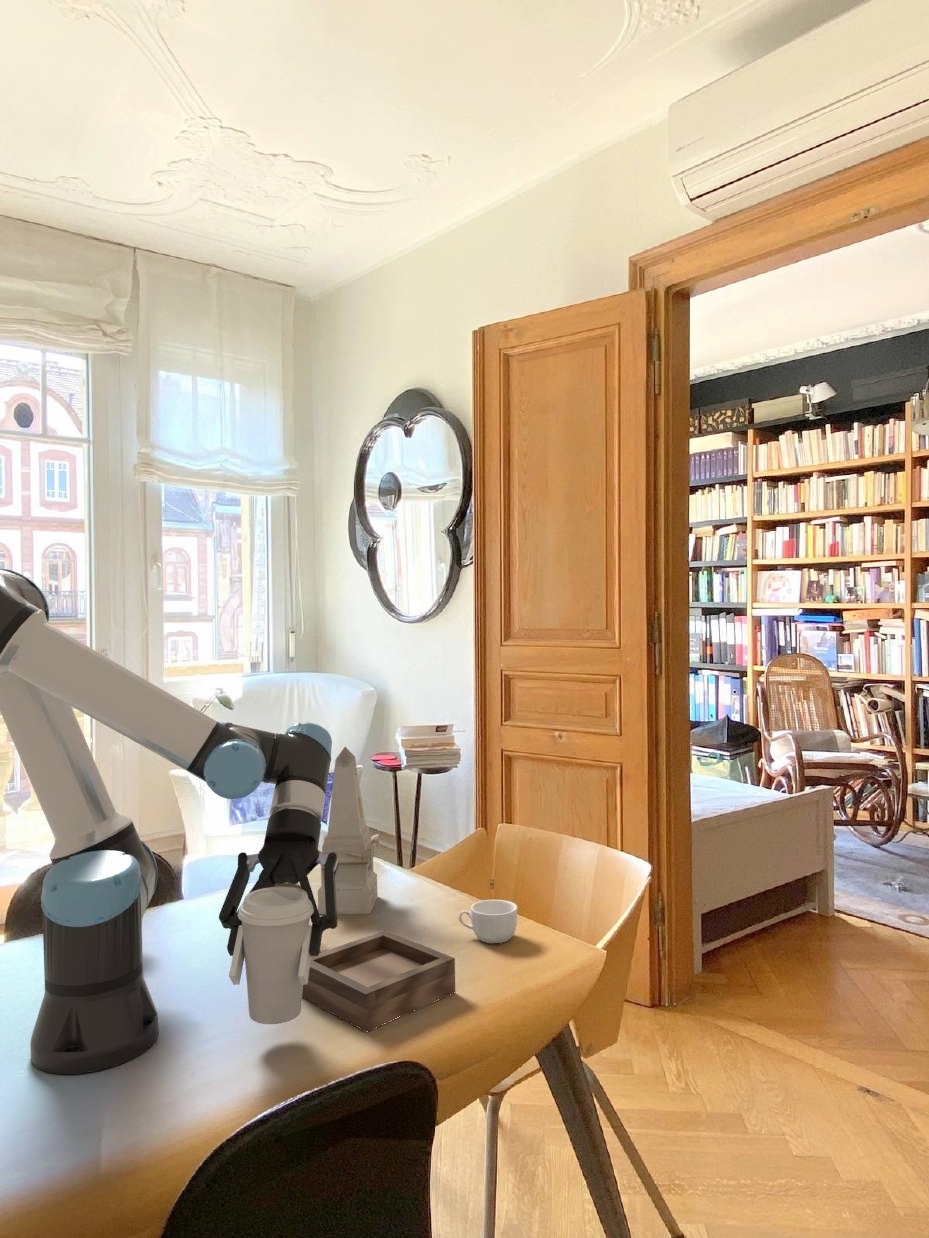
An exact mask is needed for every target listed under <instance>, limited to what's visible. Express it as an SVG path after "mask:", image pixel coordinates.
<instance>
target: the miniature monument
mask: <svg viewBox="0 0 929 1238" xmlns="http://www.w3.org/2000/svg"><path fill="white" fill-rule="evenodd" d="M334 761H335V762H334V769H333V780H332V788H331V789H332V790H331V799H330V808H329V816H328V817H329V818H328V827H327V833H326V834H324V836H323V837H324V838H323V844H319V845H318V851H319V854H324V855H328V854H329V853H331V852H334V853H335V854H336V856H337V860H338V864H339V865H338V869H337V872H336V875H335V887H336V905H337V915H370V914H371V912H372V910H373V909H374V906H375V903H376V901H377V899H378V874H377V873H376V872H375V871H374V857H375V856H376V853H377V852H378V850H379V848H380V834H379V833H376V834H373V835H372V834H371V833H370V828H369V827H368V826H366V825H367V824H366V820H365V813H364V806H363V800H362V794H361V787H360V781H359V774H358V768H357V767H358V766H357V762H356V756H355V755H354V754H353V753H352V752H351V751H350V749H348V747H347V746H344V747H343V749H342V750H341V751H340V753H339V754H338V755H337V757H336V759H335V760H334ZM317 865H320V864H319V863H318V864H317ZM320 878H321V879H320V880H321V885H320V887H319V888H318V890H317V909H318V912H319V915H326V905H325V884H324V871H322V869H321V868H320Z"/></svg>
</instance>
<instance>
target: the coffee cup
mask: <svg viewBox="0 0 929 1238" xmlns="http://www.w3.org/2000/svg"><path fill="white" fill-rule="evenodd" d="M248 893H249V892H248ZM248 893H247V894H246V895H245V897H244V900H243V902H242V903H241V904H240V905H239V908H240V909H239V908H238V909H239V912H238V918H239V919H240V920H241V921H242V929H243V941H244V953H245V958H244V962H245V963H244V965H245V977H246V986H247V987H246V988H247V1001H248V1014H249V1018H250V1020H252V1021H253V1022H255V1023H258V1024H261V1025H279V1024H285V1023H288V1022H290V1021H292V1020H294V1019H296V1018H297V1017H298V1016H300V1014H301V1012H302V1006H303V1005H302V1003H303V997H302V994H303V985H301V982H300V980H299V977H298V973H299V966H300V959H301V952H302V945H303V942H304V940H305V937H306V935H307V931H308V927H309V925H310V921H311V918H310V916H311V915H312V914H313V912H314V909H313V905H312V902H311V901H310V900H309V899H308V895H307V893H306V892H305V891H304V890H302V889H299V888H294V887H268V888H263V889H259V890H255V891H253V892H251V893H249V894H248Z"/></svg>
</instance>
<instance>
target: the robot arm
mask: <svg viewBox="0 0 929 1238" xmlns="http://www.w3.org/2000/svg"><path fill="white" fill-rule="evenodd" d="M49 620H50V609H49V604H48V601H47V598H46V596H45V594H44V593H43V591H42V590H41V588H40V587H39V586H38V585H37V584H36V583H35V582H33V581H32V580H31V579H30V578H28V577H27V576H25V575H24V574H21V573H20V572H17V571H14V570H11V569H7V568H0V714H1V716H2V719H3V721H4V723H5V726H6V728H7V730H8V733H9V735H10V738H11V740H12V742H13V745H14V747H15V749H16V751H17V754H18V756H19V758H20V760H21V763H22V765H23V768H24V770H25V772H26V774H27V777H28V780H29V781H30V784H31V786H32V788H33V791H34V794H35V795H36V798H37V800H38V802H39V805H40V807H41V810H42V812H43V814H44V816H45V820H46V821H47V823H48V826H49V828H50V830H51V833H52V835H53V838H54V844H53V846H52V848H51V850H50V852H49V854H48V855H49V856H48V857H49V859H50V861H51V863H52V867H51V868H50V869H49V870H48V871H47V872H46V874H45V876H44V878H43V881H42V889H41V890H42V891H41V895H40V904H41V905H40V908H41V909H42V937H43V939H42V940H43V941H42V943H43V972H44V973H43V975H44V994H43V998H42V1001H41V1005H40V1007H39V1011H38V1015H37V1018H36V1021H35V1025H34V1027H33V1030H32V1034H31V1037H30V1061H31V1063H32V1065H33V1066H34V1067H35V1068H37V1069H39V1070H40V1071H43V1072H45V1073H46V1072H47V1073H49V1074H50V1073H52V1074H57V1075H59V1074H60V1075H77V1074H79V1075H80V1074H86V1073H87V1074H88V1073H93V1072H97V1071H98V1072H99V1071H101V1070H102V1071H103V1070H105V1069H109V1068H112V1067H115V1066H119V1065H121V1064H124V1063H126V1062H128V1061H130V1060H133V1059H134V1058H136V1057H138V1056H139V1055H141V1054H143V1053H144V1052H145V1051H147V1050H148V1049H149V1048H150V1047H152V1046H153V1044H154V1043H155V1042H156V1040H157V1038H158V1037H159V1015H158V1011H157V1008H156V1006H155V1003H154V1001H153V998H152V996H151V993H150V991H149V989H148V985H147V983H146V980H145V978H144V974H143V973H144V971H143V970H144V965H143V959H144V958H143V928H142V927H143V918H144V915H145V913H146V910H147V908H148V905H149V904H150V902H151V900H152V899H153V895H154V894H155V892H156V888H157V886H158V885H157V883H158V876H159V875H158V871H159V870H158V864H157V861H156V858H155V855H154V853H153V851H152V850H151V848H150V847H149V845H148V844H146V843H145V842H144V841H143V840H142V839H141V838H140V836H139V834H138V832H137V829H136V827H135V825H134V821H133V819H132V818H131V817H128V816H126V815H122V814H121V813H118V812H117V811H116V808H115V806H114V804H113V802H112V799H111V796H110V795H109V792H108V790H107V787H106V785H105V782H104V780H103V778H102V776H101V773H100V771H99V769H98V765H97V764H96V761H95V760H94V756H93V755H92V752H91V750H90V748H89V745H88V743H87V741H86V738H85V735H84V734H83V731H82V729H81V726H80V723H79V721H78V719H77V716H76V714H75V712H74V709H75V710H78V711H79V712H81V713H83V714H84V715H87V716H89V717H90V718H92V719H93V720H95V721H97V722H99V723H100V724H103V725H104V726H106V727H108V728H109V729H112V730H114V731H115V732H117V733H118V734H121V735H122V736H124V737H126V738H127V739H129V740H131V741H133V742H134V743H137V744H138V745H141V746H142V747H143V748H145V749H147V750H150V751H151V752H153V753H154V754H156V755H158V756H160V757H161V758H164V759H165V760H166V761H169V762H171V763H173V764H174V765H176V766H177V767H180V768H182V770H185V771H186V772H188V773H190V774H191V775H192V776H195V777H196V778H199V779H200V780H202V782H205V783H206V786H208V787H209V789H211V791H212V792H213V793H214V794H216V795H217V796H218V797H221V798H223V799H227V800H237V799H238V800H239V799H242V798H245V797H248V796H249V795H251V794H252V793H253V792H255V791H256V789H257V788H258V787H259V786H260V784H261V782H262V783H263V784H272V785H274V790H273V794H272V800H271V805H270V809H269V817H268V820H267V825H266V831H265V836H264V841H263V845H262V848H260V850H259V851H258V853H255V854H247V852H244V851H243V852H240V853H239V854H238V855H237V869H236V871H235V874H234V876H233V879H232V881H231V884H230V887H229V889H228V891H227V894H226V896H225V899H224V900H223V901H224V902H223V905H222V907H221V909H220V912H219V914H218V919H219V921H220V923H221V926H222V927H223V929H225V930H226V929H229V930H230V932H229V936H228V941H227V946H226V949H227V953H228V954H229V957H232V958H231V963H230V970H229V974H228V977H229V979H230V982H231V983H232V985H234V986H235V985H236V986H237V985H240V983H241V977H242V973H243V966H244V964H245V963H244V962H245V953H244V941H243V929H242V921H241V920H240V919H239V918H238V912H239V909H240V905H241V901H242V898H243V896H244V893H245V891H246V887H247V886H248V883H249V880H250V876H251V873H253V872H254V870H255V868H256V866H257V865H258V864H260V865H261V867H262V870H261V871H260V873H259V876H258V879H257V880H256V882H255V884H254V885H253V886H252V887H251V889H252V890H251V889H250V890H251V891H250V890H249V891H250V893H251V892H253V891H255V890H259V889H263V888H268V887H274V885H275V884H282V883H286V882H287V883H291V884H300V886H301V889H302V890H304V891H305V892H306V893H307V895H308V899H309V900H310V901H311V902H312V905H313V909H314V912H313V914H312V915H311V916H310V921H311V925H310V924H309V927H308V931H307V935H306V937H305V940H304V942H303V945H302V952H301V959H300V966H299V973H298V977H299V980H300V982H301V985H307V983H308V976H309V969H310V961H311V956H318V955H319V953H321V947H322V946H321V945H322V938H323V933H324V932H325V931H327V930H329V929H331V930H332V929H333V930H334V929H336V928H338V914H337V905H336V887H335V875H336V872H337V869H338V865H339V864H338V860H337V856H336V854H335V853H334V852H331V853H329V854H328V855H324V854H319V851H318V848H319V846H320V835H321V831H322V830H321V829H322V821H323V815H324V808H325V803H326V801H325V800H326V794H327V787H328V781H329V774H330V769H331V763H332V747H333V741H332V736H331V734H330V733H329V731H328V730H327V729H326V728H324V727H323V726H322V725H319V724H317V723H313V722H305V723H300V722H298V723H297V722H296V723H295V724H292V725H291V726H289V727H288V728H287V729H286V732H285V733H277V732H272V731H270V732H269V731H267V730H266V731H265V730H262V729H257V728H253V727H247V726H243V725H239V724H235V723H233V722H229V721H227V722H222V721H217V720H216V719H213V718H212V717H210V716H208V715H207V714H206V713H204V712H202V711H200V710H198V708H197V709H196V708H195V707H193V706H191V705H190V704H188V703H186V702H185V701H183V700H180V699H179V698H177V697H176V696H174V695H172V694H171V693H169V692H167V691H165V690H164V689H162V688H161V687H159V686H157V685H155V684H154V683H152V682H151V681H148V680H147V679H145V678H143V677H141V676H139V675H138V674H136V673H135V672H133V671H131V670H129V669H128V668H126V667H124V666H123V665H121V664H119V663H117V662H116V661H114V660H113V659H111V658H109V657H107V656H105V655H103V654H102V653H101V652H98V651H97V650H95V649H93V648H91V647H90V646H88V645H86V644H85V643H83V642H81V641H79V640H77V639H76V638H75V637H72V635H70V634H68V633H66V632H64V631H62V630H61V629H59V628H57V627H56V626H53V625H52V624H50V622H49ZM73 708H74V709H73ZM318 863H319V864H318ZM318 865H320V870H321V869H322V871H324V884H325V905H326V914H324V915H323V916H321V914H319V912H318V905H317V903H316V899H315V896H314V893H313V891H312V887H311V884H310V881H309V877H308V875H309V874H310V873H311V872H312V871H313V870H314V869H315V868H316V867H317V866H318Z"/></svg>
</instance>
